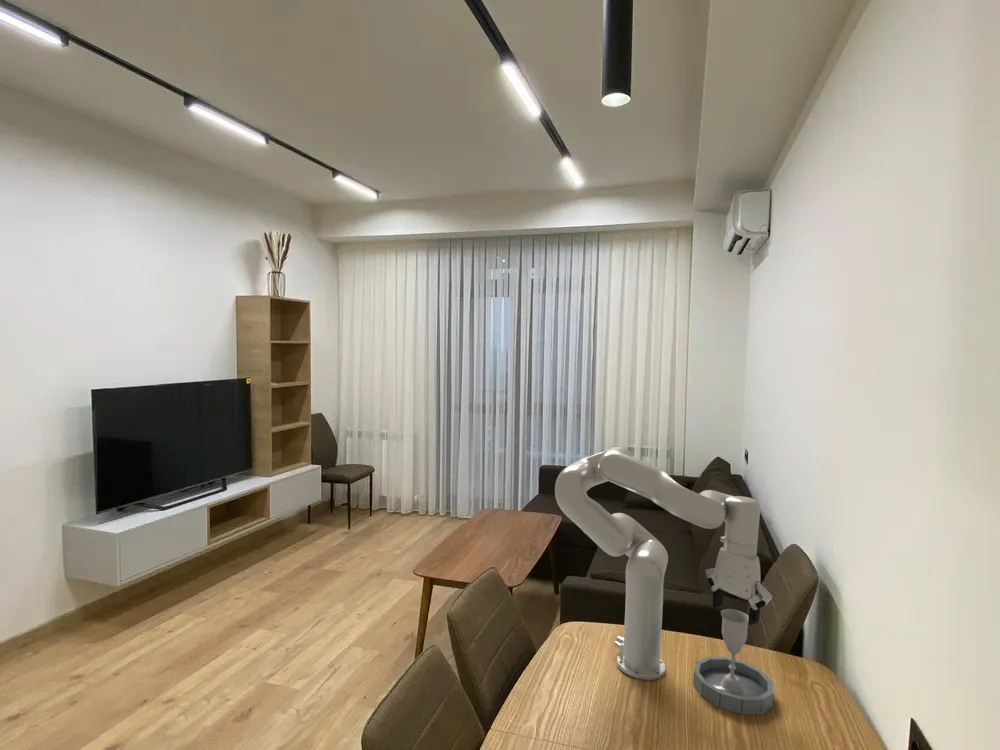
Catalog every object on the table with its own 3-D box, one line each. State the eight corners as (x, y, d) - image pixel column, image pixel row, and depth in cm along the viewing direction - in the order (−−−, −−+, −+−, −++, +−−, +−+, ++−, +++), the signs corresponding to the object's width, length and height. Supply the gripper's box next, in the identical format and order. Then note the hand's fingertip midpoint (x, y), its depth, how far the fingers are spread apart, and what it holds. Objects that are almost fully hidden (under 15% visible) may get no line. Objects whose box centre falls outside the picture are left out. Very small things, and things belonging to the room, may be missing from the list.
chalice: (749, 697, 132) (753, 624, 131) (719, 692, 133) (723, 620, 133) (742, 680, 139) (746, 610, 138) (714, 675, 140) (718, 607, 140)
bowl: (679, 682, 138) (679, 669, 138) (721, 662, 148) (721, 650, 148) (745, 724, 123) (746, 709, 123) (786, 698, 134) (787, 684, 134)
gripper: (700, 538, 140) (695, 603, 140) (765, 562, 125) (759, 634, 126) (718, 534, 144) (712, 597, 145) (782, 556, 130) (776, 626, 130)
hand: (734, 614), depth 135 cm, fingers open, 9 cm apart
